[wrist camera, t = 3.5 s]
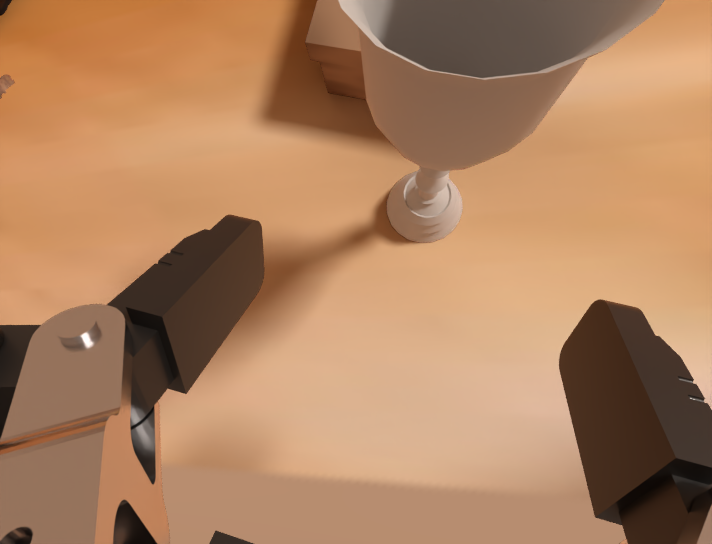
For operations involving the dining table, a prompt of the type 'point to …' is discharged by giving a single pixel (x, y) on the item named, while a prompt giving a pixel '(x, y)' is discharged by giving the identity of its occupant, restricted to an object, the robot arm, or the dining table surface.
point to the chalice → (471, 83)
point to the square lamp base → (336, 49)
